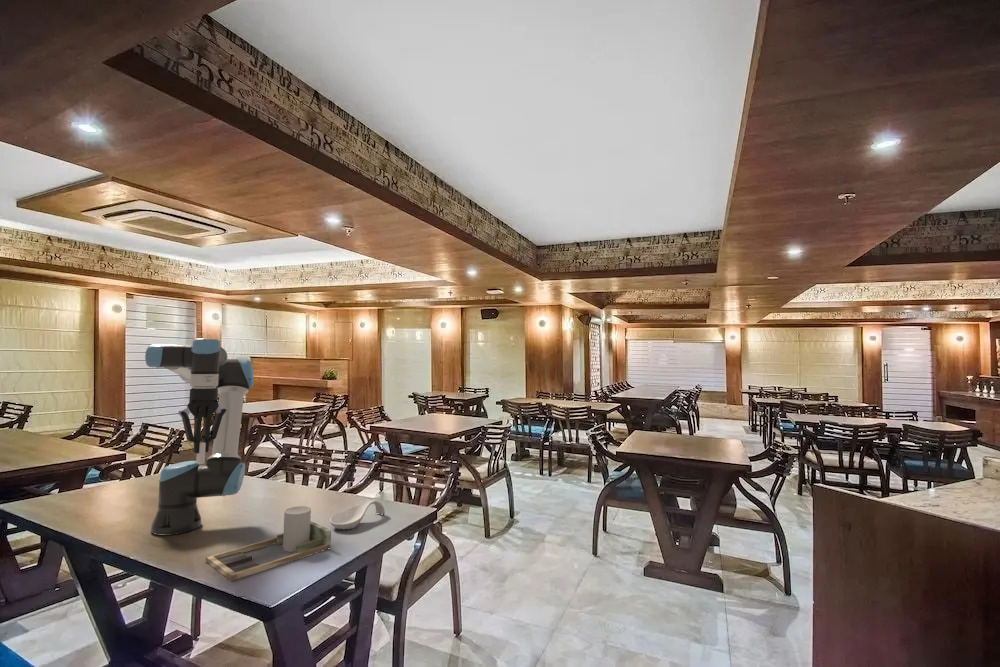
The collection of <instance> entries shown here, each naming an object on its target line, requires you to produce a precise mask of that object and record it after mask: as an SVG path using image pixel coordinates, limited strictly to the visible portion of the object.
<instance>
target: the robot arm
mask: <svg viewBox="0 0 1000 667" xmlns="http://www.w3.org/2000/svg"><path fill="white" fill-rule="evenodd" d="M144 357H145V358H144V359H145V360H144V361H145V364H146V366H147V367H149V368H157V369H159V368H160V369H161V368H164V369H166V370H169V371H170V372H172V373H174V374H175V375H178V376H179V378H180V379H181V380H183V381H184V382H186V383H188V384H189V386H190V387H191V388H190V389H189V398H188V400H189V401H188V404H187V407H186V408H184V409H182V410H178V415H179V416H180V418H181V420H182V424H183V428H184V434H185V438H186V441H189V442H192V443H193V454H195V455H196V457H195V458H196V460H188V461H187V460H186V461H182V462H181V461H180V462H176V463H173V464H170V465H167V466H165V467H163V468H162V469H161V470H160V475H159V480H158V483H159V485H158V506H157V510H156V514H155V515H154V518H153V521H152V522H151V526H150V533H151V532H152V533H156V534H174V535H177V534H176V533H180V534H183V533H182V532H185V533H187V532H186V531H188V532H191V531H190V530H192V531H194V530H195V528H196V529H198V528H199V526H200V527H201V526H202V516H201V513H200V511H199V508H198V504H197V499H199V498H209V497H210V498H212V497H226V496H227V497H228V496H234V495H236V494H238V493H239V491H240V490H241V488H242V485H243V481H244V478H245V473H246V472H245V470H246V464H245V462H242V457H241V456H240V455H239V454H238V453H239V445H240V444H239V443H240V433H241V426H242V416H243V409H244V408H243V406H244V397H245V395H247V394H248V393H249V390H250V389H251V388H253V387H254V382H255V381H254V369H253V364H252V361H251V360H249V359H243V358H242V359H241V358H238V359H237V358H228V353H227V351H226V350H225V349H224V348H223V347H222V346H221V341H220V340H219V339H218V338H194V339H193V341H192V344H185V345H184V344H162V343H160V344H159V343H158V344H157V343H156V344H150V345H149V346H147V348H146V350H145V355H144ZM218 395H219V398H218ZM214 413H215V416H214V419H213V422H212V426H211V421H212V415H213V414H214ZM190 414H191V415H192V416H193V421H194V423H193V429H192V425H191V420H190V417H189V415H190ZM202 421H203V423H202ZM202 424H203V426H202ZM201 435H202V436H201ZM201 437H202V438H201ZM201 439H202V441H201ZM211 441H213V445H212V450H211V451H212V452H211V455H210V456H208V458H206V453H208V452H209V448H210V447H209V446H210V443H211ZM205 461H206V462H205ZM197 527H198V528H197ZM193 529H194V530H193ZM152 533H151V534H152Z"/></svg>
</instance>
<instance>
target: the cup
mask: <svg viewBox="0 0 1000 667" xmlns="http://www.w3.org/2000/svg"><path fill="white" fill-rule="evenodd" d="M283 512H284V513H283V515H284V516H283V532H282V534H283V544H282V550H283V551H284V552H287V551H288V553H294V552H293V551H296V545H299V544H303V543H306V542H309V541H310V521H311V518H312V517H311V516H312V515H311V513H312V508H311V507H309V506H302V505H301V506H300V505H299V506H294V507H289V508H286V509H285V510H284V511H283Z"/></svg>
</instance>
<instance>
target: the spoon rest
mask: <svg viewBox="0 0 1000 667" xmlns="http://www.w3.org/2000/svg"><path fill="white" fill-rule="evenodd" d="M372 504H373V505H374V506H375V514H376V513H379V514H385V507H384V505H383V504H382V502H380V501H378V500H373V499H366V500H363V501H361V502H359V503H358V504H355V505H353V506H352V507H349V508H347V509H346V510H345V509H344V510H343V511H340V512H338V513H336V514H333V515H332V516H331V517H330V518H329V523H330V525H331V526H332V527H334V528H335V529H337V530H341V529H342V531H346V530H345V529H348V530H351V528H352V529H354V528H353V527H355V526H356V527H357V526H358V525H359V524H360V523H361V521H362V520H363V518H364V516H365V515H366V512H367V510H368V509H369V507H370V506H371V505H372ZM379 514H378V515H379ZM385 515H386V514H385ZM356 527H355V528H356Z"/></svg>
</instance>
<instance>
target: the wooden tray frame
mask: <svg viewBox="0 0 1000 667" xmlns="http://www.w3.org/2000/svg"><path fill="white" fill-rule="evenodd" d="M331 539H332V530H331V529H329V528H327V527H326V526H324V525H321V524H319V523H316V522H314V521H311V520H310V541H309V542H306V543H303V544H299V545H296V552H295V553H292V554H289V555H287V556H284V557H280V558H277V559H274V560H270V561H268V562H265V563H261V564H260V563H258V562H256V560H254V559H253V558H254V557H253V555H245V554H244V553H246V552H250V551H254V550H257V549H260V548H265V547H268V546H271V545H274V543H275V544H276V545H277V546H280V544H281V545H283V533H279V534H277V535H276V537H272V538H269V539H265V540H261V541H258V542H254V543H251V544H247V545H243V546H240V547H236V548H233V549H229V550H225V551H222V552H219V553H215V554H211V555H208V556H206V557H205V562H206V563H207V564H208V563H209V564H210V565H209V564H208V565H209V566H211V567H212V568H213V569H214V570H216V571H217V572H219V573H220V575H222V576H224V577H225V578H227V579H228V581H230V582H233V581H236V580H239V579H242V578H245V577H249V576H251V575H255V574H257V573H261V572H264V571H266V570H269V569H273V568H276V567H279V566H282V565H285V564H288V563H291V562H294V561H297V560H300V559H303V558H302V557H304V558H306V557H305V556H307V557H308V555H310V554H313V555H315V554H314V553H316V552H319V551H322V550H325V549H328V548H330V549H331V546H332V545H331V543H332V542H331V541H332V540H331ZM267 545H268V546H267ZM328 550H329V549H328ZM325 551H326V550H325ZM322 552H323V551H322ZM319 553H320V552H319ZM316 554H317V553H316ZM310 556H311V555H310ZM299 558H300V559H299ZM296 559H297V560H296ZM293 560H294V561H293ZM290 561H291V562H290ZM287 562H288V563H287ZM281 564H282V565H281Z"/></svg>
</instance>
